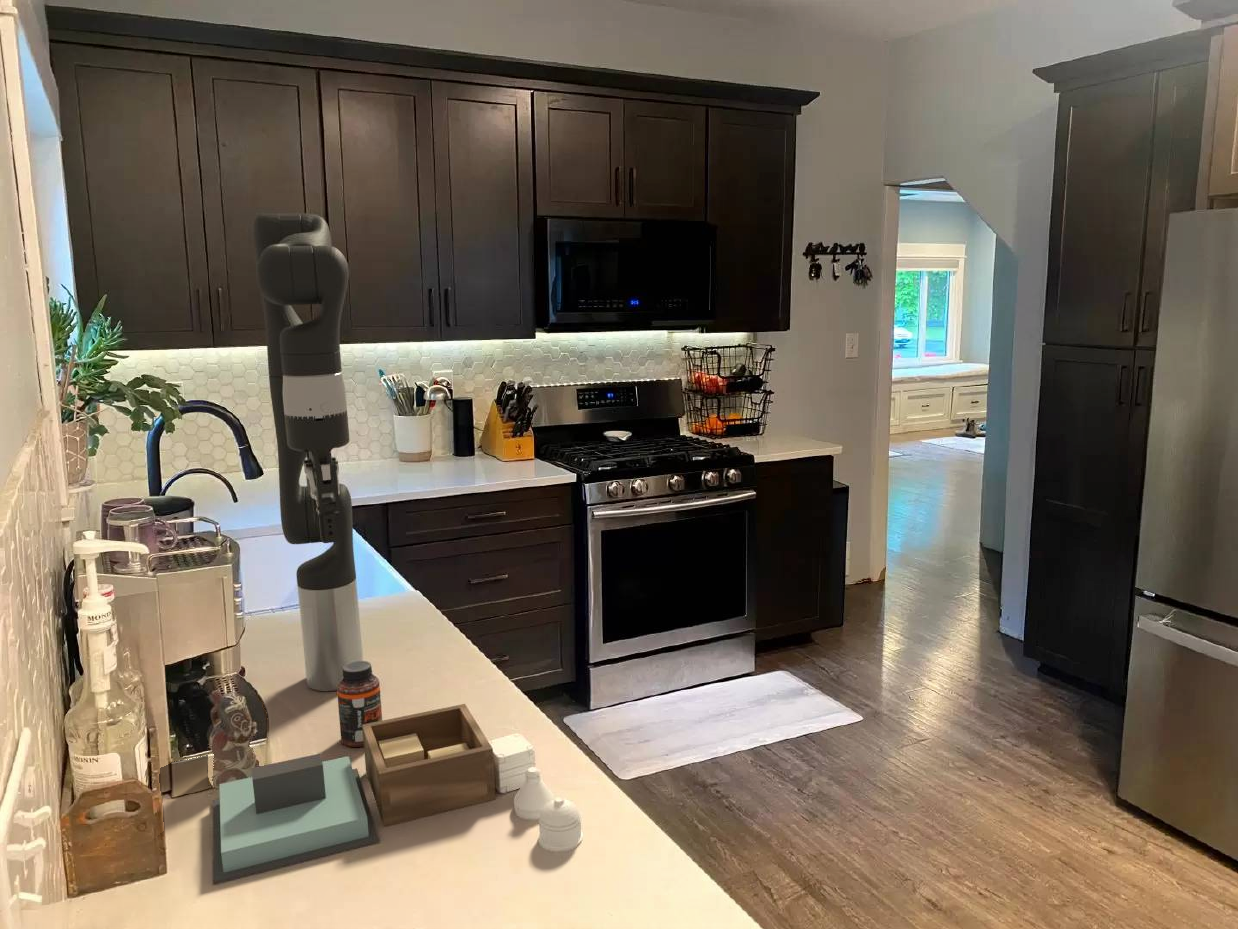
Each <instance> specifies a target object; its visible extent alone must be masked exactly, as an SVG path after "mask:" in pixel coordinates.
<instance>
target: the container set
mask: <svg viewBox="0 0 1238 929" xmlns="http://www.w3.org/2000/svg"><path fill="white" fill-rule="evenodd" d="M488 742H489V743H490V745H491V747H492V748H493V763H494V781H495V790H496V791H498V793H499V794H500V793H501V794H505V793H509V792H512V791H515V790H518V791H517V793H516V794H515V796H514V799H513V805H514V808H513V809H514V814H515V815H516V816H517V817H518V818H521V819H525V820H533V821H534V820H538V827H539V828H538V829H539V833H538V837H537V838H538V844H539V845H540V847H542V848H543V849H545V850H548V851H551V852H557V853H560V852H563V853H564V852H567V851H571V850H573V849H575V848H577V847H578V846H579V845H581V843H582V842H583V839H584V834H583V831H582V815H581V813H580V810H579V808H578V807H577V805H576V804H574V803H573V802H572V801H570V800H568V799H566V798H564V797H562V796H558V797H555V796H554V794H553V792H552V791H551V790H550V788H549V787H548V786H547V785H546V783H545V782H544V781H543V780H542V779H541V771H540V769H539V768H538V767H536V754H535V752H536V751H535V748H534V746H533V745H532V744H531V743H530V741H528V740H527V739H526V738H525V737H524V736H523V735H522V733H513V734H508V735H506V736H502V737H499V738H495V739H492V740H488Z"/></svg>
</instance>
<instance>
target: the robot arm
mask: <svg viewBox="0 0 1238 929" xmlns="http://www.w3.org/2000/svg"><path fill="white" fill-rule="evenodd" d="M252 238H253V240H252V241H253V249H254V250H253V251H254V256H255V264H256V281H257V285H258V287H259V290H260V296H261V303H262V309H263V315H264V316H263V317H264V324H265V335H266V350H267V351H266V353H267V366H268V367H267V368H268V380H269V381H268V382H269V392H270V398H271V407H272V413H273V422H274V428H275V429H274V430H275V434H276V436H275V437H276V444H277V445H276V446H277V457H278V460H277V461H278V483H279V486H278V487H279V509H280V521H281V528H282V532H283V536H284V538H285V540H286V542H287V543H288V544H291V545H305V544H316V543H323V544H329V543H330V544H331V543H332V545H331V546H330V547H329V548H328V549H326V550H325V551H324V552H322V553H321V554H319V555H317V556H315V557H313V558H310V559H307V561H304V562H303V563H302V564H300V565H299V566H298V568H296V569H297V570H296V572H295V573H296V584H297V594H298V596H297V597H298V605H299V614H300V624H301V634H302V636H301V637H302V645H303V655H304V668H305V677H306V684H307V685H306V686H308V688H310V689H311V690H315V691H320V692H330V691H332V692H333V691H337V685H338V683H339V682H340V681H341V680H342V679H343V678H344V677H343V666H344V665H346V664H348V663H350V662H354V661H364V657H363V655H364V653H363V643H362V631H361V620H360V619H361V618H360V608H359V598H358V597H359V596H358V586H357V573H356V564H355V562H356V561H355V554H354V551H355V550H354V532H353V531H354V530H353V528H354V527H353V524H354V523H353V504H352V498H351V497H352V496H351V493H350V490H349V489H348V487H347V486H346V485H345V484H344V483H340V482H339V481H340V480H339V473H340V467H339V461H338V460H337V458H336V457H333V456H332V450H333V449H335V448H337V449H339V448H343V447H344V446H347V445H348V444H349V442H350V430H349V419H348V418H349V417H348V416H349V415H348V407H347V404H348V403H347V394H346V387H345V383H344V378H343V372H342V369H343V368H342V360H341V346H340V344H341V343H340V330H341V329H340V327H341V319H342V314H343V313H342V312H343V308H344V307H343V306H344V303H345V298H346V293H347V290H348V284H349V278H350V269H349V264H348V261H347V259H346V256H345V255H344V254H343V253H342V252H341V251H340V250H339V249H338V248H337V247H335V246H333V245H332V236H331V232H330V228H329V225H328V223H327V222H326V220H325V218H323V217H321V216H320V215H317V214H315V213H260V214H258V215H257V216H256V217H255V218H254V222H253V226H252ZM295 305H296V306H301V305H303V306H305V305H310V306H311V305H314V306H315V305H321V309H320V312H319V314H318V315H317V316H315V318H313V319H311V320H309V321H307V322H303V321H302V320H301V319H300V317H299V316H298V315H297V313H296V312H295V310H294V308H293V307H292V306H295ZM302 470H304V473H305V480H306V486H305V485H300V477H301V474H302Z"/></svg>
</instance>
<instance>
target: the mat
mask: <svg viewBox="0 0 1238 929" xmlns="http://www.w3.org/2000/svg"><path fill="white" fill-rule="evenodd" d="M352 769H353V772H354V776H355V779H356V782H357V786H358V789H359V792H360V795H361V799H362V802H363V805H364V809H365V812H366V815H367V821H368V833H369V836H368V837H364V838H360V839H356V840H352V841H348V842H344V843H340V844H336V845H332V846H328V847H324V848H320V849H316V850H312V851H308V852H304V853H300V854H296V855H292V856H288V857H284V858H280V859H276V860H272V861H269V862H265V863H261V864H257V865H253V866H249V867H245V868H241V869H237V870H233V871H229V872H225V873H224V872H223V864H222V856H221V827H220V798H218V799H213V800H212V883H213V884H212V885H216V884H220V883H223V882H224V883H225V882H228V881H233V880H236V879H239V878H244V877H245V878H246V877H248V876H253V875H256V874H260V873H264V872H268V871H272V870H276V869H280V868H283V867H288V866H291V865H296V864H299V863H303V862H307V861H311V860H312V861H313V860H314V859H315V860H316V859H319V858H323V857H326V856H327V857H328V856H331V855H335V854H340V853H342V852H346V851H350V850H355V849H359V848H362V847H367V846H371V845H374V844H378V843H380V837H379V835H378V832H377V828H376V825H375V822H374V819H373V816H372V812H371V808H370V805H369V802H368V800H367V796H366V792H365V790H364V789H365V788H364V786H363V783H362V780H361V775H360V773H359V771H358V770H359V769H358V768H352Z"/></svg>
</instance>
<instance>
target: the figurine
mask: <svg viewBox="0 0 1238 929" xmlns="http://www.w3.org/2000/svg"><path fill="white" fill-rule="evenodd" d="M211 698H212V700H213V703H214V706H213V707H212V708H211V709H210V718H211V724H212V726H213V727H212V731H210V735H209V738H208V745H209V748H210V749H211V750H212V752H213V754H214V758H213V759H214V760H213V762H214V763H213V764H214V766H213V767H214V768H213V776H212V778H213V779H212V781H213V786H214V787H215V788H214V787H213V788H214V789H216V788H217V789H216V790H220V787H219V784H223V783H227V782H232V781H236V780H241V779H246V778H250V777H252V770H251V768H254V767H259V761H258V760H257V759H256V755H255V754H254V753H253V752H254V751H253V748H251V747H250V746H249V745H250V741H252V739H253V736H254V735H255V734H256V732H258V729H257V725H258V724H257V721H253V720H252V716H251V713H250V711H249V708H248V706H247V700H246V697H245V696H243V695H241V694H240V693H238V692H235V691H231V692H227V693H225V694H224V695H222V693H221V692H220V691H219V690H218V689H216V690H213V691H212V693H211Z"/></svg>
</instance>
